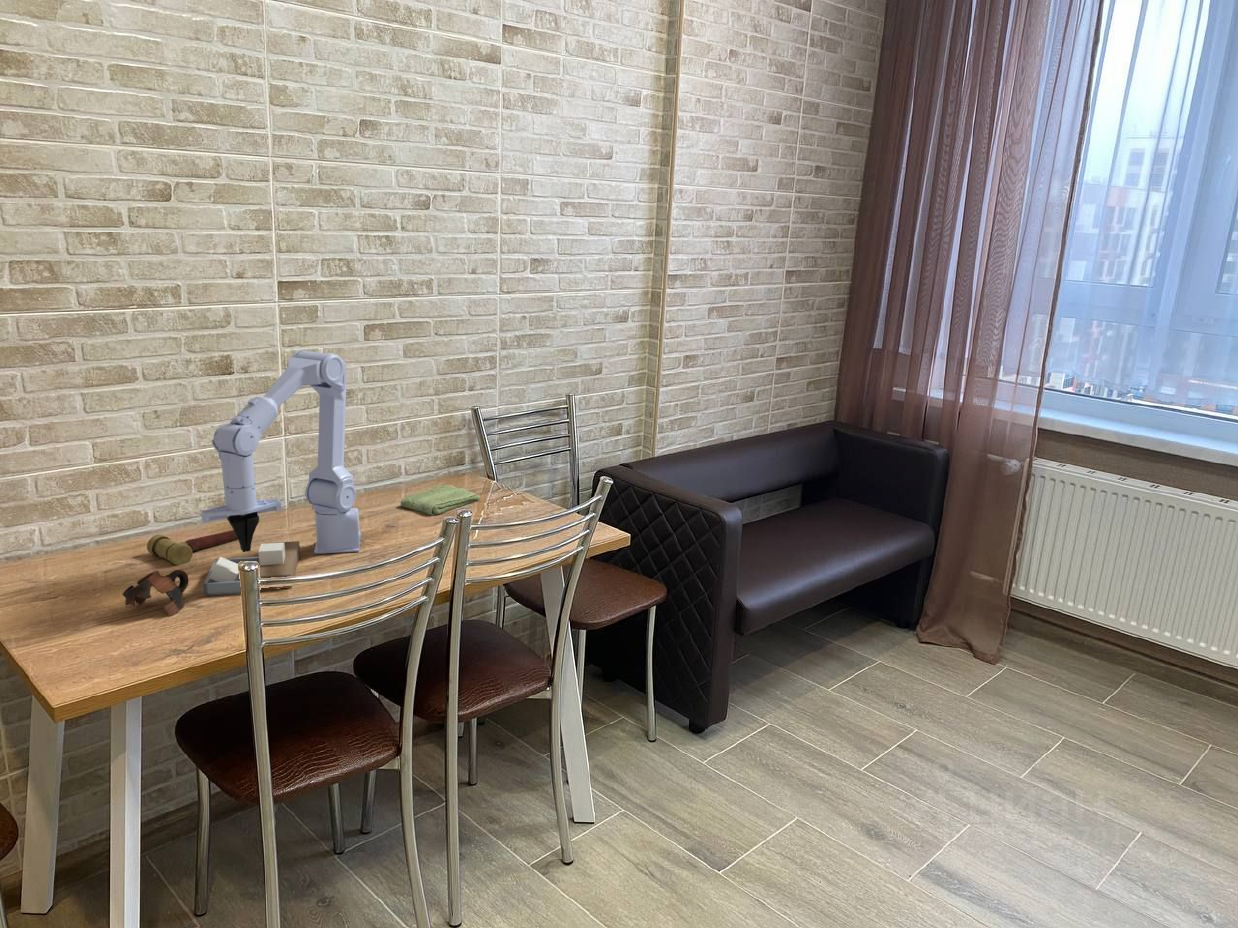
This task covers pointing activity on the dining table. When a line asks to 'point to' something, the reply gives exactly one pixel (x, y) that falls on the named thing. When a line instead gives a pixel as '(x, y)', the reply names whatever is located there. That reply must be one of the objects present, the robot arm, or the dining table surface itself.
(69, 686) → the dining table surface
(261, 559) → the tile
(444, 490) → the washcloth
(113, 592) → the dining table surface
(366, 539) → the dining table surface
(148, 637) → the dining table surface
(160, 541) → the gavel
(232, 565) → the white squarish block
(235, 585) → the tray
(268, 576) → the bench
